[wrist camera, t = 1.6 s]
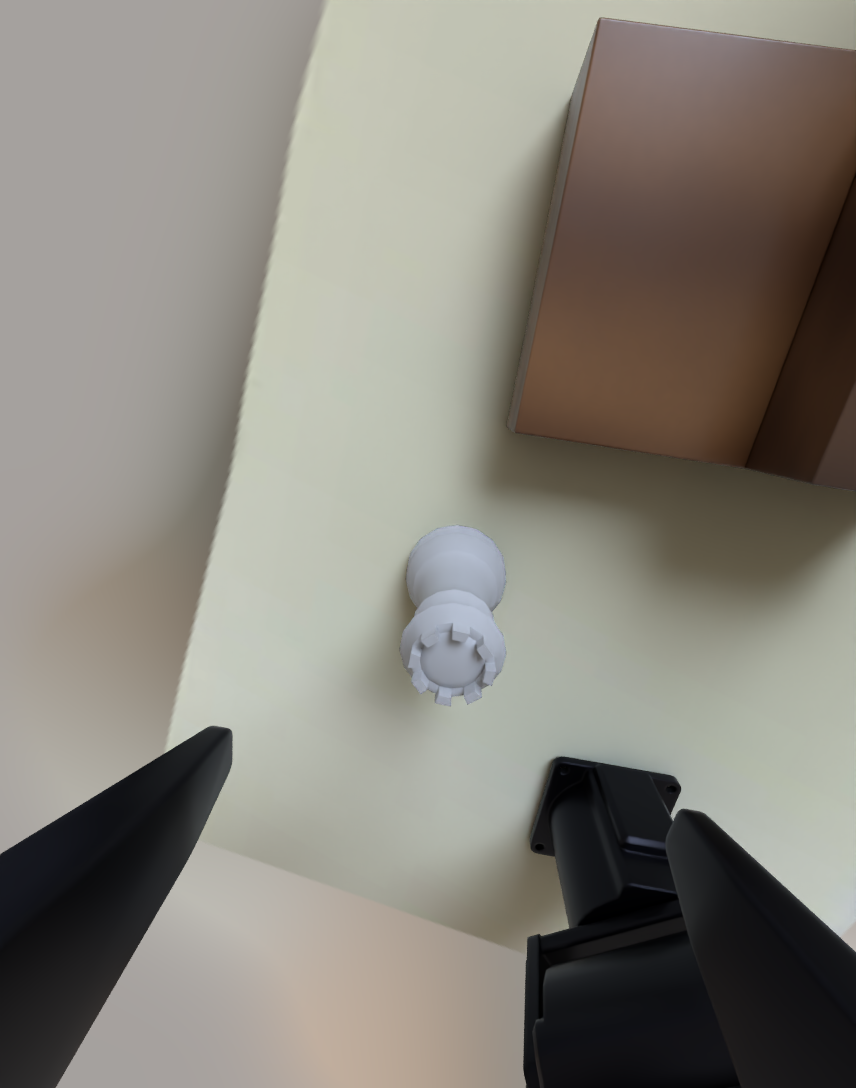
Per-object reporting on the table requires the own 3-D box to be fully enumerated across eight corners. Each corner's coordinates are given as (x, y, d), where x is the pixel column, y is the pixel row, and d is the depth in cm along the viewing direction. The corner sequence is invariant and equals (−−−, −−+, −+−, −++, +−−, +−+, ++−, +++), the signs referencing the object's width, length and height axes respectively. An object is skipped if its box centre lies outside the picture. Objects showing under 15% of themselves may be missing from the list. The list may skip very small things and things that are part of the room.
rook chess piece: (521, 545, 19) (559, 636, 12) (479, 626, 21) (489, 753, 13) (430, 506, 19) (408, 573, 12) (393, 591, 21) (353, 699, 13)
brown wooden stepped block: (899, 489, 18) (1196, 548, 10) (505, 428, 18) (533, 444, 11) (1064, 157, 14) (1679, -95, 7) (572, 90, 15) (677, -208, 7)
